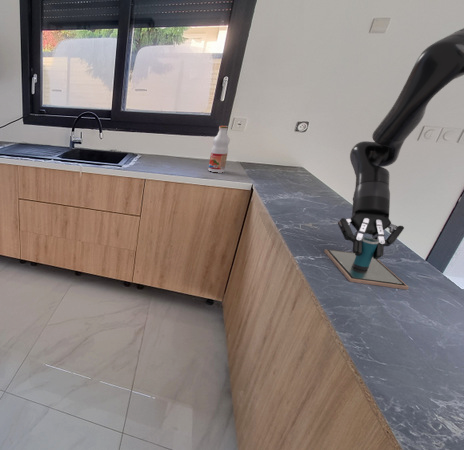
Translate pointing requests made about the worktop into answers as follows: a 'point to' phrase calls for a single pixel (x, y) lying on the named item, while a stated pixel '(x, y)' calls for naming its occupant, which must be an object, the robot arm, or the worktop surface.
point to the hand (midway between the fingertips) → (367, 256)
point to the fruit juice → (219, 151)
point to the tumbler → (365, 253)
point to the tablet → (365, 271)
